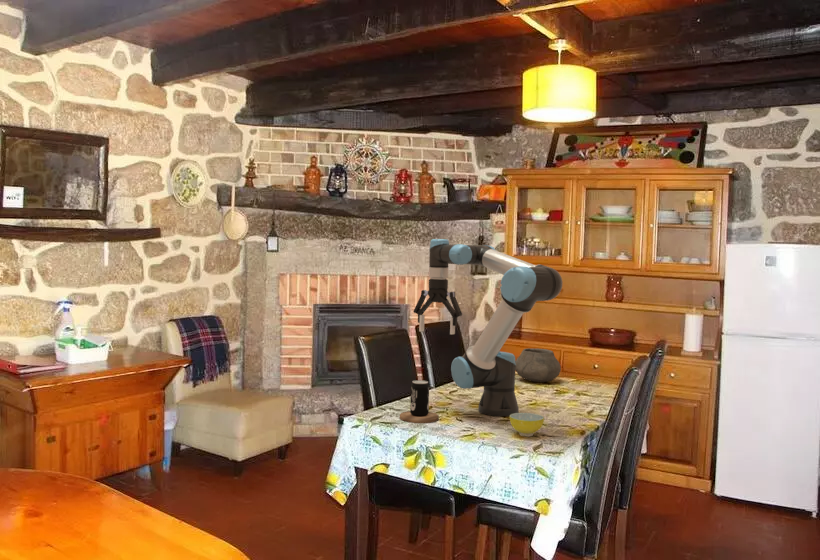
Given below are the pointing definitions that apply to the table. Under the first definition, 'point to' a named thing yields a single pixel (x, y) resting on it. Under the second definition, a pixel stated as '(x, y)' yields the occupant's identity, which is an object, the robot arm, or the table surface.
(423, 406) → the beverage can
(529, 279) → the robot arm
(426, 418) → the disc
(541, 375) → the clay pot
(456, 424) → the table surface
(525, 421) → the bowl
